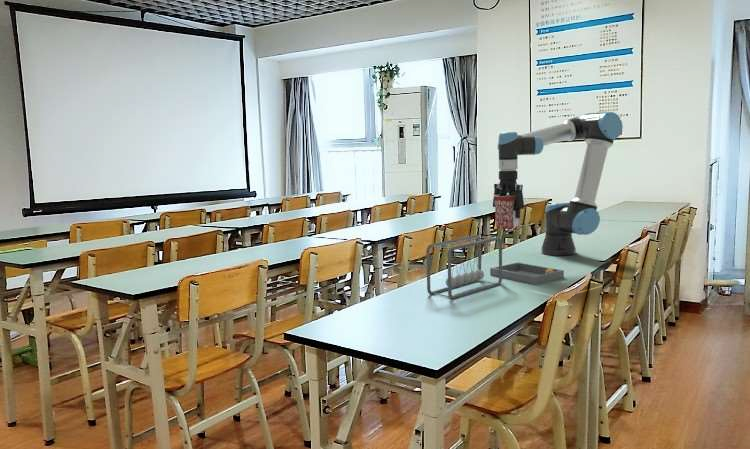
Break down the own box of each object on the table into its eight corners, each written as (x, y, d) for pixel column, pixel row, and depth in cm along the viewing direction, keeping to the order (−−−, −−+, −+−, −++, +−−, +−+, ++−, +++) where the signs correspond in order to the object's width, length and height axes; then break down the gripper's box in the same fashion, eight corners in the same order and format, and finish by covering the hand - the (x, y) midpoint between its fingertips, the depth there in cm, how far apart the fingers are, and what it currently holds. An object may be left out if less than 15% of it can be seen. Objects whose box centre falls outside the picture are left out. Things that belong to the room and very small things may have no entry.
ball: (549, 275, 225) (549, 267, 225) (555, 277, 223) (556, 268, 222) (543, 277, 224) (543, 268, 223) (550, 278, 221) (550, 269, 221)
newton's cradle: (450, 300, 197) (449, 247, 195) (426, 295, 204) (425, 244, 202) (502, 284, 217) (502, 236, 215) (479, 280, 225) (479, 234, 222)
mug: (509, 229, 239) (509, 196, 237) (489, 228, 245) (489, 195, 243) (525, 226, 248) (525, 193, 246) (506, 224, 254) (506, 193, 253)
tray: (518, 270, 240) (518, 262, 239) (563, 279, 222) (563, 270, 221) (490, 276, 231) (490, 267, 230) (535, 285, 213) (535, 276, 212)
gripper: (483, 170, 250) (483, 223, 253) (521, 170, 233) (521, 228, 236) (496, 169, 254) (496, 222, 257) (534, 170, 237) (533, 226, 240)
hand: (508, 225), depth 246 cm, fingers closed on mug, 8 cm apart
